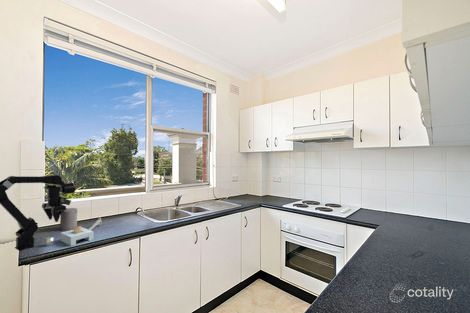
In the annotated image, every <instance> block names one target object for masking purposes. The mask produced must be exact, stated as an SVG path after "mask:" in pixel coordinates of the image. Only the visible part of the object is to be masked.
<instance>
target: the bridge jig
mask: <svg viewBox="0 0 470 313" xmlns="http://www.w3.org/2000/svg"><path fill="white" fill-rule="evenodd" d="M88 229H89V228H85V227H82V230H81V233H77V234H73V230H74V229H72V230H66V231H63V232H60V242H62V243H64V244H66V245H68V246H70V247H72V246H76V245H77V241H76V240H79V239H81V240H82V239H84V240H86V241H88V240H89V241H90V242H91V241H92V240H94V235H95V234H94V232H95V231H93V230H88ZM89 241H88V242H89Z"/></svg>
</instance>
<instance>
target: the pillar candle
mask: <svg viewBox="0 0 470 313" xmlns="http://www.w3.org/2000/svg"><path fill="white" fill-rule="evenodd" d="M59 220H60V223H59V230H60V231H63V232H66V231H70V230H74V227H77V226H78V208H77V207H66V210H65V211H63V212H62V213H61V215H60V217H59Z"/></svg>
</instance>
